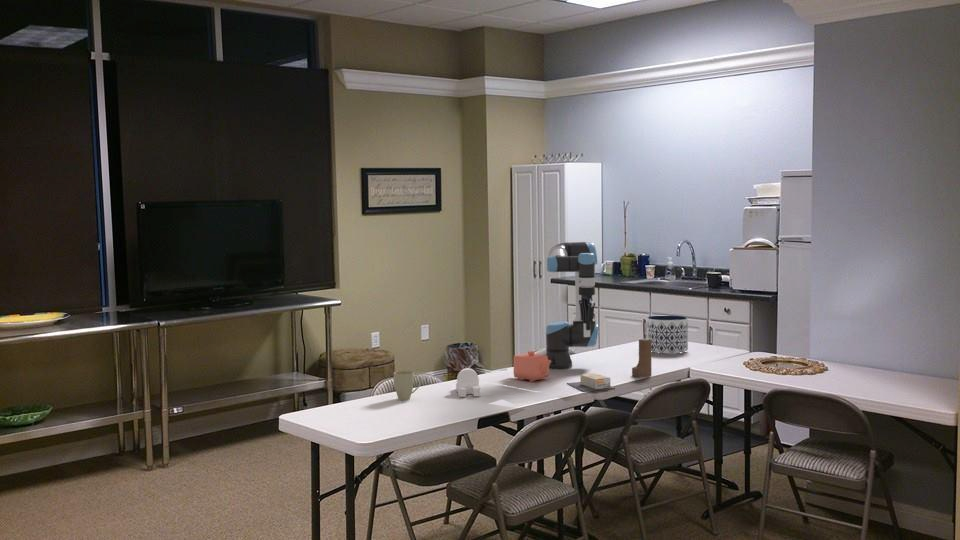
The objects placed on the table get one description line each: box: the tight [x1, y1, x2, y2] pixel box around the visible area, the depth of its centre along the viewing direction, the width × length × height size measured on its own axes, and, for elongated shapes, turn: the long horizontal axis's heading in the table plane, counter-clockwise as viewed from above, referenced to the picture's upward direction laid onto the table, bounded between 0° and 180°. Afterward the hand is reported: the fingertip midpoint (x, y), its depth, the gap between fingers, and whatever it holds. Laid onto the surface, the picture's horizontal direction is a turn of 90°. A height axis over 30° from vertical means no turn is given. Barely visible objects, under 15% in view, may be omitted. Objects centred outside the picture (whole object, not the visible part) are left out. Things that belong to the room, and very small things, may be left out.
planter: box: [646, 314, 689, 354], centre depth 489 cm, size 22×22×20 cm
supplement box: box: [580, 372, 611, 389], centre depth 398 cm, size 8×5×13 cm
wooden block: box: [631, 338, 652, 378], centre depth 423 cm, size 9×4×18 cm, turn 123°
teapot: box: [513, 350, 551, 383], centre depth 417 cm, size 22×13×14 cm, turn 47°
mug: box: [393, 370, 423, 401], centre depth 380 cm, size 11×10×12 cm
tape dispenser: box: [455, 367, 481, 398], centre depth 393 cm, size 10×18×11 cm, turn 6°
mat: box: [566, 381, 616, 393], centre depth 401 cm, size 18×16×1 cm
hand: (587, 336), depth 403 cm, fingers closed
